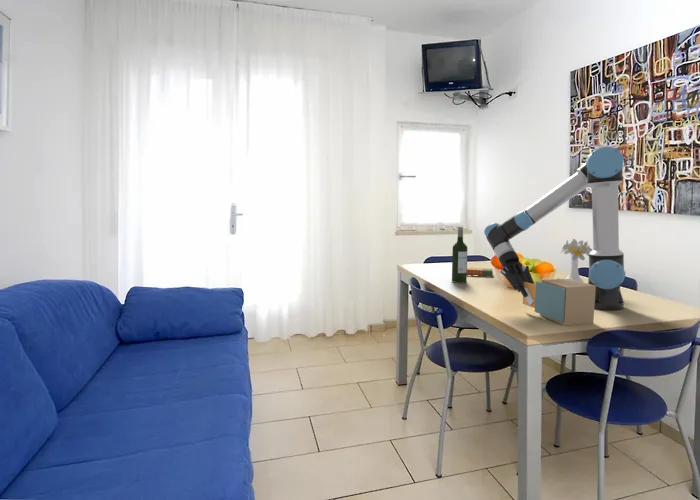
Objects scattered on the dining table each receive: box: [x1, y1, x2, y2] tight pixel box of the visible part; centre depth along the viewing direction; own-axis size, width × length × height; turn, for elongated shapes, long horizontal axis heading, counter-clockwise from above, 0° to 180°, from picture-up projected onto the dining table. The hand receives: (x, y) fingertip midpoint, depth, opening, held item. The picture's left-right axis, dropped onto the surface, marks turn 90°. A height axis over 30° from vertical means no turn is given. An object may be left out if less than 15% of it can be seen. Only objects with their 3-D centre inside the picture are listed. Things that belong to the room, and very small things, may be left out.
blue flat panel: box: [522, 281, 565, 322], centre depth 162 cm, size 1×21×12 cm, turn 17°
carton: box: [467, 267, 494, 278], centre depth 251 cm, size 8×16×4 cm, turn 74°
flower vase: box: [560, 238, 593, 283], centre depth 208 cm, size 13×18×25 cm
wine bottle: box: [451, 226, 468, 283], centre depth 231 cm, size 8×8×30 cm
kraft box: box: [539, 278, 596, 326], centre depth 160 cm, size 12×14×14 cm
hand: (533, 303), depth 166 cm, fingers closed
